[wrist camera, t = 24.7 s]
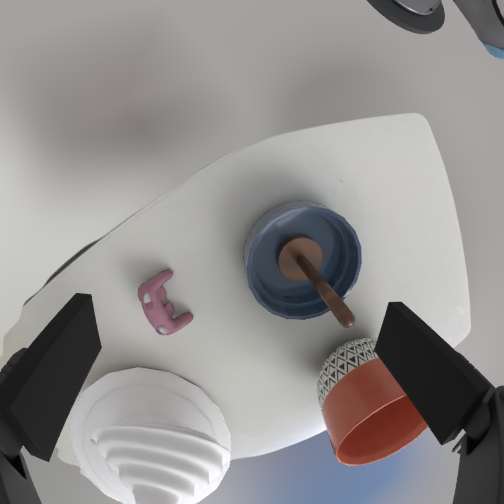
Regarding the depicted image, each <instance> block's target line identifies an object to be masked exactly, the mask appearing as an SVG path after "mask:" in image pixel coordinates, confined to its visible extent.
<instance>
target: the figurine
mask: <svg viewBox="0 0 504 504" xmlns="http://www.w3.org/2000/svg"><path fill="white" fill-rule="evenodd" d="M70 444H71V447H72V449H73V452H74V454H75V456H76V459H77V461H78V463H79V465H80V467H81V469H82V472H83V473H84V474H85V475H86V476H87V477H88V478H89V479H90V480H91V481H92V482H93V483H94V484H95V485H96V486H97V487H98V488H99V489H100V490H101V491H102V492H103V493H104V494H105V495H107V496H109V497H111V498H113V499H115V500H117V501H119V502H121V503H123V504H196V503H198V502H199V501H201V500H202V499H204V498H205V497H206V496H207V495H209V494H210V493H212V492H213V491H214V490H216V489H217V487H218V486H219V483H220V482H221V480H222V479H223V477H224V475H225V473H226V471H227V469H228V468H229V466H230V459H231V457H230V454H231V436H230V433H229V431H228V428H227V425H226V423H225V420H224V417H223V415H222V412H221V410H220V409H219V408H218V407H217V406H216V405H215V404H214V403H213V402H212V401H211V400H210V399H209V397H208V396H207V395H206V394H205V393H204V392H203V391H202V390H201V388H199V387H197V386H195V385H193V384H191V383H190V382H188V381H186V380H184V379H182V378H180V377H179V376H177V375H175V374H173V373H171V372H165V371H159V370H153V369H147V368H141V367H136V368H132V369H127V370H122V371H117V372H112V373H107V374H106V375H105V376H103V377H102V378H100V379H99V380H98V381H96V382H95V383H93V384H92V385H91V386H89V387H88V388H86V389H85V390H84V391H83V393H82V394H81V396H80V398H79V400H78V402H77V404H76V406H75V408H74V410H73V412H72V414H71V422H70Z"/></svg>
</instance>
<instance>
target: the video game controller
mask: <svg viewBox="0 0 504 504" xmlns="http://www.w3.org/2000/svg"><path fill="white" fill-rule="evenodd" d="M172 275H173V271H171V270H167V271H163V272H161V273H159V274H157V275H156V276H154V277H153V278H151V279H150V280H149V281H147V282H146V283H143V284H141V285H140V286H139V288H138V297H139V300H140V301H141V304H142V307H143V310H144V313H145V315H146V317H147V319H148V321H149V322H150V324H151V325H152V326H153V327H154V328H155V330H156V332H157V333H158V334H160V335H170V334H173V333H175V332H176V331H178V330H179V329H181V328H183V327H184V326H186V325H187V324H189V323H190V322H191V321H192V319H193V314H191V313H189V314H183V315H181V316H178V317H176V318H174V319H173V314H174V307H173V305H172V304H170V303H168V304H163V305H162V303H161V301H164V300H165V298H166V291H165V289H164V288H163V287H160V286H161V285H162V284H163V283H165V282H166V281H168V280H169V279H170V278H171V277H172Z"/></svg>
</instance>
